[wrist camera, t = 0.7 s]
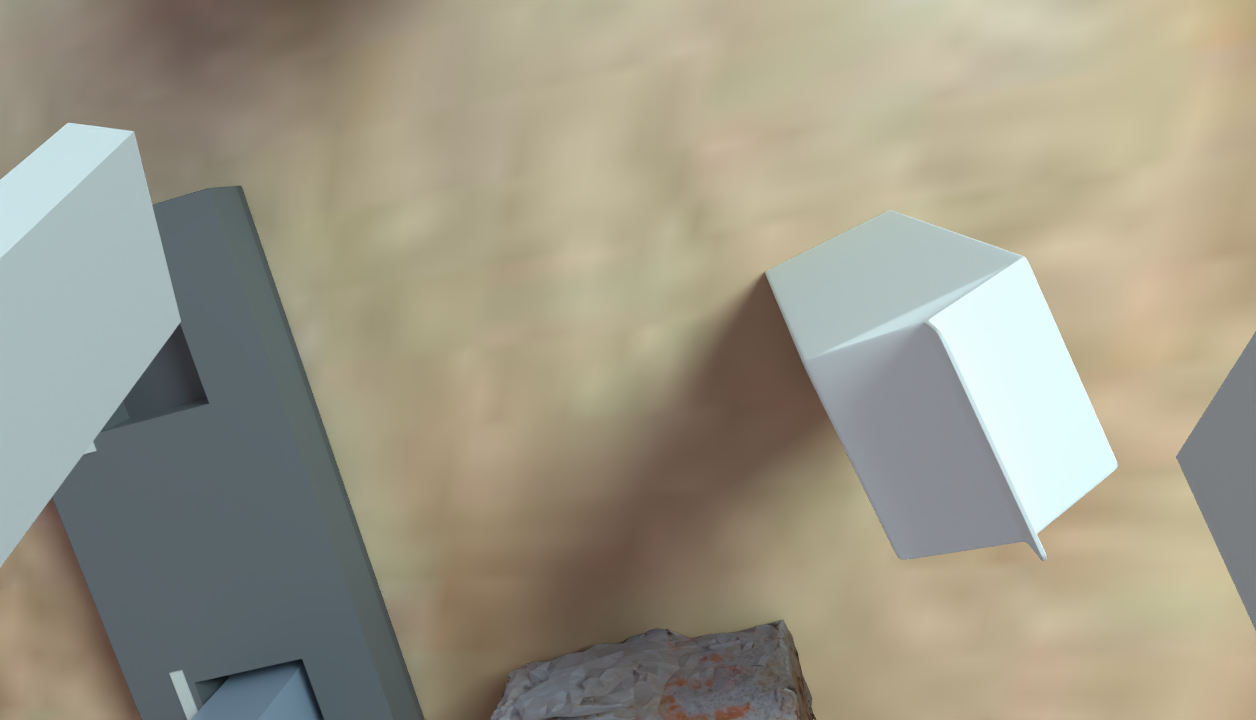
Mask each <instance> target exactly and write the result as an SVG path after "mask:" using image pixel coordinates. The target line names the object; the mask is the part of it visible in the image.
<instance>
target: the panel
mask: <svg viewBox="0 0 1256 720" xmlns="http://www.w3.org/2000/svg"><path fill="white" fill-rule="evenodd" d="M152 206H153V210H154V214H155V218H156V222H157V226H158V230H159V234H160V238H161V242H162V246H163V251H164V255H165V259H166V263H167V267H168V271H169V275H170V279H171V283H172V287H173V291H174V295H175V299H176V303H177V307H178V311H179V315H180V319H181V322H180V324H179V325H178V326H177V328H176V329H175V330H174V332H173V333H172V335H171V336H170V337H169V339H168V340H167V341H166V343H165V344H164V345H163V347H162V348H161V350H160V351H159V352H158V354H157V355H156V356H155V358H154V359H153V360H152V362H151V363H150V364H149V366H148V367H147V369H146V370H145V371H144V373H143V374H142V375H141V377H140V378H139V379H138V381H137V382H136V384H135V385H134V386H133V388H132V389H131V390H130V392H129V393H128V394H127V396H126V397H125V398H124V400H123V401H122V403H121V404H120V405H119V407H118V408H117V409H116V411H115V412H114V413H113V415H112V416H111V418H110V419H109V420H108V422H107V423H106V424H105V426H104V427H103V428H102V430H101V431H100V432H99V434H98V435H97V437H96V438H95V439H94V441H93V442H92V443H91V445H90V446H89V447H88V449H87V450H86V451H85V453H84V454H83V456H82V457H81V458H80V460H79V461H78V462H77V464H76V465H75V466H74V468H73V469H72V471H71V472H70V473H69V475H68V476H67V477H66V479H65V480H64V481H63V483H62V484H61V485H60V487H59V488H58V490H57V491H56V492H55V494H54V495H53V496H52V498H53V500H54V503H55V505H56V508H57V510H58V513H59V515H60V518H61V520H62V523H63V525H64V528H65V530H66V533H67V535H68V538H69V540H70V543H71V545H72V548H73V550H74V553H75V555H76V558H77V560H78V563H79V565H80V568H81V570H82V573H83V575H84V578H85V580H86V583H87V585H88V588H89V590H90V593H91V595H92V598H93V600H94V603H95V605H96V608H97V610H98V613H99V615H100V618H101V620H102V623H103V625H104V628H105V630H106V633H107V635H108V638H109V640H110V643H111V645H112V648H113V650H114V653H115V655H116V658H117V660H118V663H119V665H120V668H121V670H122V672H123V675H124V677H125V680H126V682H127V685H128V687H129V690H130V692H131V695H132V697H133V700H134V702H135V705H136V707H137V710H138V712H139V715H140V717H141V720H191V719H192V718H193V716H194V715H195V714H196V713H197V712H198V711H199V710H200V709H201V708H202V707H203V705H204V704H205V703H206V702H207V701H208V700H209V699H210V698H211V697H212V696H213V695H214V693H215V692H216V691H217V690H218V689H219V688H220V687H221V686H222V685H223V684H224V682H225V681H226V680H227V679H228V678H229V677H230V676H231V675H232V674H236V673H240V672H244V671H249V670H253V669H258V668H262V667H267V666H271V665H276V664H280V663H285V662H289V661H294V660H298V659H302V660H303V663H304V666H305V668H306V671H307V674H308V677H309V679H310V682H311V685H312V688H313V690H314V693H315V696H316V699H317V701H318V704H319V707H320V710H321V712H322V715H323V718H324V720H424V717H423V714H422V711H421V708H420V705H419V702H418V699H417V696H416V693H415V691H414V688H413V685H412V682H411V679H410V676H409V673H408V670H407V667H406V664H405V661H404V659H403V656H402V653H401V650H400V647H399V644H398V641H397V638H396V635H395V632H394V629H393V627H392V624H391V621H390V618H389V615H388V612H387V609H386V606H385V603H384V600H383V597H382V594H381V592H380V589H379V586H378V583H377V580H376V577H375V574H374V571H373V568H372V565H371V562H370V560H369V557H368V554H367V551H366V548H365V545H364V542H363V539H362V536H361V533H360V530H359V527H358V525H357V522H356V519H355V516H354V513H353V510H352V507H351V504H350V501H349V498H348V495H347V493H346V490H345V487H344V484H343V481H342V478H341V475H340V472H339V469H338V466H337V463H336V460H335V458H334V455H333V452H332V449H331V446H330V443H329V440H328V437H327V434H326V431H325V428H324V426H323V423H322V420H321V417H320V414H319V411H318V408H317V405H316V402H315V399H314V396H313V393H312V391H311V388H310V385H309V382H308V379H307V376H306V373H305V370H304V367H303V364H302V361H301V359H300V356H299V353H298V350H297V347H296V344H295V341H294V338H293V335H292V332H291V329H290V326H289V324H288V321H287V318H286V315H285V312H284V309H283V306H282V303H281V300H280V297H279V294H278V292H277V289H276V286H275V283H274V280H273V277H272V274H271V271H270V268H269V265H268V262H267V259H266V257H265V254H264V251H263V248H262V245H261V242H260V239H259V236H258V233H257V230H256V227H255V225H254V222H253V219H252V216H251V213H250V210H249V207H248V204H247V201H246V198H245V195H244V192H243V190H242V187H241V186H231V187H219V188H208V189H204V190H201V191H197V192H194V193H191V194H187V195H184V196H181V197H177V198H174V199H170V200H167V201H164V202H160V203H157V204H154V205H152Z"/></svg>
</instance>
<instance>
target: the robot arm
mask: <svg viewBox="0 0 1256 720" xmlns="http://www.w3.org/2000/svg"><path fill="white" fill-rule="evenodd" d="M180 322H181V319H180V315H179V311H178V307H177V303H176V299H175V295H174V291H173V287H172V283H171V279H170V275H169V271H168V267H167V263H166V259H165V255H164V251H163V246H162V242H161V238H160V234H159V230H158V226H157V222H156V218H155V214H154V210H153V206H152V202H151V198H150V194H149V190H148V186H147V182H146V178H145V174H144V170H143V166H142V162H141V158H140V154H139V150H138V146H137V142H136V138H135V133H134V131H127V130H120V129H112V128H105V127H97V126H90V125H82V124H75V123H67V124H66V125H65V126H64V127H62V128H61V129H60V130H59V131H58V132H56V133H55V134H54V135H53V136H52V137H51V138H49V139H48V140H47V141H46V142H45V143H43V144H42V145H41V146H40V147H39V148H38V149H36V150H35V151H34V152H33V153H32V154H30V155H29V156H28V157H27V158H26V159H25V160H23V161H22V162H21V163H20V164H19V165H17V166H16V167H15V168H14V169H13V170H12V171H10V172H9V173H8V174H7V175H6V176H4V177H3V178H2V179H1V180H0V567H1V566H2V564H3V563H4V562H5V560H6V559H7V558H8V556H9V555H10V553H11V552H12V551H13V549H14V548H15V547H16V545H17V544H18V543H19V541H20V540H21V538H22V537H23V536H24V534H25V533H26V532H27V530H28V529H29V528H30V526H31V525H32V524H33V522H34V521H35V519H36V518H37V517H38V515H39V514H40V513H41V511H42V510H43V509H44V507H45V506H46V505H47V503H48V502H49V500H50V499H51V498H52V496H53V495H54V494H55V492H56V491H57V490H58V488H59V487H60V485H61V484H62V483H63V481H64V480H65V479H66V477H67V476H68V475H69V473H70V472H71V471H72V469H73V468H74V466H75V465H76V464H77V462H78V461H79V460H80V458H81V457H82V456H83V454H84V453H85V451H86V450H87V449H88V447H89V446H90V445H91V443H92V442H93V441H94V439H95V438H96V437H97V435H98V434H99V432H100V431H101V430H102V428H103V427H104V426H105V424H106V423H107V422H108V420H109V419H110V418H111V416H112V415H113V413H114V412H115V411H116V409H117V408H118V407H119V405H120V404H121V403H122V401H123V400H124V398H125V397H126V396H127V394H128V393H129V392H130V390H131V389H132V388H133V386H134V385H135V384H136V382H137V381H138V379H139V378H140V377H141V375H142V374H143V373H144V371H145V370H146V369H147V367H148V366H149V364H150V363H151V362H152V360H153V359H154V358H155V356H156V355H157V354H158V352H159V351H160V350H161V348H162V347H163V345H164V344H165V343H166V341H167V340H168V339H169V337H170V336H171V335H172V333H173V332H174V330H175V329H176V328H177V326H178V325H179V324H180ZM1176 458H1177V460H1178V462H1179V464H1180V467H1181V469H1182V471H1183V473H1184V475H1185V477H1186V480H1187V482H1188V484H1189V486H1190V488H1191V491H1192V493H1193V495H1194V497H1195V499H1196V501H1197V504H1198V506H1199V508H1200V510H1201V512H1202V515H1203V517H1204V519H1205V521H1206V523H1207V525H1208V528H1209V530H1210V532H1211V534H1212V536H1213V538H1214V541H1215V543H1216V545H1217V547H1218V549H1219V552H1220V554H1221V556H1222V558H1223V560H1224V562H1225V565H1226V567H1227V569H1228V571H1229V573H1230V576H1231V578H1232V580H1233V582H1234V584H1235V586H1236V589H1237V591H1238V593H1239V595H1240V597H1241V600H1242V602H1243V604H1244V606H1245V608H1246V610H1247V613H1248V615H1249V617H1250V619H1251V621H1252V623H1253V626H1254V628H1255V630H1256V332H1255V334H1254V335H1253V337H1252V338H1251V340H1250V341H1249V343H1248V345H1247V346H1246V348H1245V349H1244V351H1243V352H1242V354H1241V356H1240V357H1239V359H1238V360H1237V362H1236V363H1235V365H1234V367H1233V368H1232V370H1231V371H1230V373H1229V374H1228V376H1227V378H1226V379H1225V381H1224V382H1223V384H1222V385H1221V387H1220V389H1219V390H1218V392H1217V393H1216V395H1215V396H1214V398H1213V400H1212V401H1211V403H1210V404H1209V406H1208V407H1207V409H1206V411H1205V412H1204V414H1203V415H1202V417H1201V418H1200V420H1199V422H1198V423H1197V425H1196V426H1195V428H1194V429H1193V431H1192V433H1191V434H1190V436H1189V437H1188V439H1187V440H1186V442H1185V444H1184V445H1183V447H1182V448H1181V450H1180V451H1179V453H1178V455H1177V456H1176Z"/></svg>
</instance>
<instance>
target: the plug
mask: <svg viewBox="0 0 1256 720" xmlns="http://www.w3.org/2000/svg"><path fill="white" fill-rule="evenodd" d="M191 720H324V718H323V715H322V712H321V710H320V707H319V704H318V701H317V699H316V696H315V693H314V690H313V688H312V685H311V682H310V679H309V677H308V674H307V671H306V668H305V666H304V663H303V660H302V659H298V660H294V661H289V662H285V663H280V664H276V665H271V666H267V667H262V668H258V669H253V670H249V671H244V672H240V673H236V674H232V675H231V676H230V677H229V678H228V679H227V680H226V681H225V682H224V684H223V685H222V686H221V687H220V688H219V689H218V690H217V691H216V692H215V693H214V695H213V696H212V697H211V698H210V699H209V700H208V701H207V702H206V703H205V704H204V705H203V707H202V708H201V709H200V710H199V711H198V712H197V713H196V714H195V715H194V716H193V718H192V719H191Z"/></svg>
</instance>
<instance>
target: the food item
mask: <svg viewBox="0 0 1256 720" xmlns="http://www.w3.org/2000/svg"><path fill="white" fill-rule="evenodd" d="M508 677H509V678H510V681H508V682H507V683H506V687H505V691H504V692H503V696H502V699H501V701H500V702H499V703H498V705H497V709H496V710H495V711H494V713H493V715H492V717H491V719H490V720H813V719H814V720H816V718H815V716H814V714H813V712H812V707H811V704H812V697H811V694H810V691H809V689H808V686H807V684H806V682H805V680H804V677H803V675H802V671H801V666H800V663H799V658H798V653H797V650H796V647H795V645H794V641H793V637H792V635H791V633H790V631H789V630H788V628H787V626H786V624H785V622H784V620H781V621H777V622H773V623H769V624H765V625H759V626H756V627H753V628H751V629H748V630H744V631H740V632H735V633H719V634H709V635H704V636H700V637H696V638H693V639H692V638H688V637H685V636H683V635H680V634H678V633H675V632H673V631H671V630H668V629H666V630H664V629H659V628H657V629H653V630H649V631H648V632H647V633H645V634H641V635H637V636H633V637H629V638H628V639H627V640H626V641H625V642H624V643H621V644H599V643H597V644H595V645H594V646H592V647H591V648H589V649H587V650H586V651H584V652H578V653H570V654H566V655H563V656H561V657H558V658H556V659H553V660H551V661H537V662H532V663H529V664H525V665H524V666H523V667H522V668H521V669H515V670H513V671H511V672H509V674H508Z"/></svg>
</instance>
